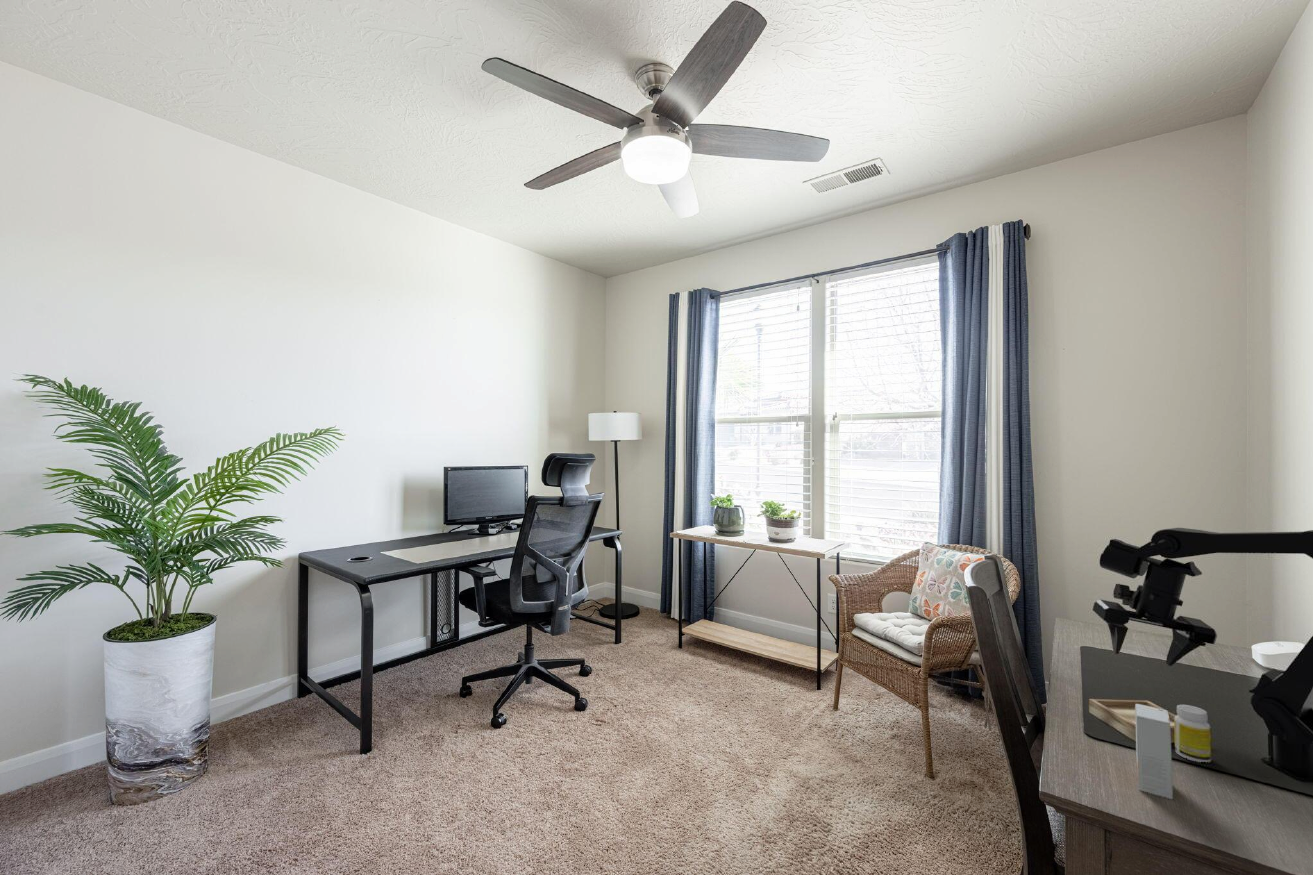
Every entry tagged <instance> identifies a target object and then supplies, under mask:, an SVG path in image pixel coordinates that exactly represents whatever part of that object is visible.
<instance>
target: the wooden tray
mask: <svg viewBox="0 0 1313 875" xmlns="http://www.w3.org/2000/svg"><path fill="white" fill-rule="evenodd" d="M1135 704H1141V705H1146V706H1150V707H1154V708H1159V709H1163V710H1166V709H1165V708H1163V707H1161V706H1159V705H1157V704H1156V703H1153V702H1152V701H1150V700H1138V699H1137V700H1135V699H1104V698H1088V712H1089V713H1090V714H1091V715H1093V716H1095V717H1096V718H1097V719H1099V720H1101V721H1103V722H1104V723H1106V725H1108V726H1110V727H1113V729H1115V730H1117V731H1118V732H1120V733H1121V734H1123V735H1124V736H1126V737H1128V738H1129V739H1131V740H1133V741H1134V742H1136V720H1135ZM1167 711H1168V714H1169V720H1170V731H1171V743H1175V729H1174V718H1175V716H1177V714H1174V713H1173V712H1170V711H1169V710H1167Z"/></svg>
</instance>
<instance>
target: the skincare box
mask: <svg viewBox="0 0 1313 875" xmlns="http://www.w3.org/2000/svg"><path fill="white" fill-rule="evenodd" d="M1163 709H1164V708H1163ZM1163 709H1159V708H1154V707H1150V706H1146V705H1141V704H1135V720H1136V741H1135V753H1136V757H1135V758H1136V773H1137V788H1138V790H1139V791H1140V790H1141V792H1145V793H1147V792H1148V794H1151V795H1155V796H1157V797H1162V798H1165V797H1166V798H1165V799H1168V798H1169V800H1173V796H1174V795H1173V794H1174V793H1173V768H1172V767H1173V766H1172V765H1173V764H1172V742H1171V731H1170V720H1169V714H1168V711H1169V710H1167V709H1165V710H1163Z"/></svg>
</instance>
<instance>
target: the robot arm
mask: <svg viewBox="0 0 1313 875" xmlns="http://www.w3.org/2000/svg"><path fill="white" fill-rule="evenodd" d="M1211 554H1212V555H1213V554H1293V555H1295V554H1299V555H1300V554H1301V555H1303V554H1304V555H1306V556H1308V557H1310V558H1311V559H1313V529H1310V530H1305V531H1268V532H1267V531H1264V532H1262V531H1261V532H1260V531H1258V532H1256V531H1255V532H1254V531H1253V532H1251V531H1250V532H1249V531H1248V532H1247V531H1245V532H1217V531H1215V532H1214V531H1208V530H1202V529H1193V528H1188V527H1186V528H1185V527H1172V528H1165V529H1163V528H1162V529H1159V530H1157V531H1155V533H1154V534H1153V535H1152V536H1151V538H1150V541H1148V542H1147V543H1145V544H1143V545H1141V546H1137V545H1133V544H1131V543H1127V542H1124V541H1123V540H1121V539H1117V538H1114V539H1113V538H1111V539H1110V540H1109V542H1108V544H1107V545H1106V546H1105V548H1104V550H1103V552H1102V553H1101V554H1100V558H1099V567H1100V568H1102V569H1105V570H1107V571H1110V572H1113V573H1116V574H1119V575H1122V576H1125V577H1128V578H1130V579H1136V578H1137V577H1138V576H1139V577H1143V576H1144V575H1145V576H1144V580H1143V583H1142V584H1141V585H1140V584H1139V585H1137V587H1136V590H1131V588H1130V586H1129V585H1126V584H1120V583H1115V586H1114V588H1113V594H1112V596H1113V598H1114V599H1117V600H1122V602H1121V603H1122V604H1120V603H1119V602H1115V601H1109V600H1106V599H1100V598H1099V599H1098V600H1096V601H1095V602H1094V603H1093V606H1092V607H1093V608H1092V611H1093V612H1094V613H1095V614H1096V615H1097V616H1098V617H1099V618H1101V619H1102V620H1103V621H1105V622H1104V623H1107V626H1108V629H1109V633H1110V640H1111V644H1112V650H1113V653H1114V654H1115V655H1119V653H1120V651H1121V650H1122V647H1123V644H1124V642H1125V638H1126V636H1127V633H1128V630H1129V627H1128V626H1127V624H1128V623H1129V621H1132V622H1137V623H1141V624H1146V625H1151V626H1154V627H1155V626H1156V627H1160V628H1165V629H1171V630H1172V640H1171V643H1170V646H1169V650H1168V652H1167V655H1166V660H1165V663H1166V664H1165V665H1167V666H1169V667H1171V666H1173V665H1174V664H1176V663H1177V662H1178V661H1179V660H1181V659H1182V658H1183V657H1185V656H1186V655H1187V654H1189V653H1192V651H1194V650H1196V649H1197V648H1199V647H1206V646H1207V644H1210V645H1215V644H1216V641H1217V638H1218V633H1217V630H1215V629H1214V628H1213V627H1211V626H1210V625H1209V624H1207V623H1206V622H1204V621H1203V620H1201V619H1199V618H1194V617H1190V616H1184V615H1179V616H1177V617H1176V618H1175V615H1176V611H1177V608H1178V607H1182V606H1183V603H1184V601H1183V600H1182V599H1180V598H1181V594H1182V590H1183V587H1184V585H1185V580H1186V577H1187V576H1189V577H1192V578H1193V577H1198V576H1201V575H1203V573H1202V571H1201V570H1200V568H1198V567H1197V566H1196V564H1195V562H1194V561H1187V562H1185V563H1183V562H1181V561H1177V560H1174V559H1182V558H1183V559H1184V558H1188V557H1189V558H1190V557H1196V556H1204V555H1205V556H1206V555H1211ZM1157 556H1161V557H1162V558H1164V559H1162V560H1161V559H1157V558H1154V557H1157ZM1122 605H1123V606H1122ZM1124 606H1129V608H1130V609H1132V610H1128V609H1126V608H1125V607H1124ZM1134 610H1135V611H1134ZM1248 693H1251V694H1253V695H1252V696H1251V698H1250V705H1251V707H1252V708H1253V711H1254V712H1255V713H1256V715H1257V716H1259V717H1260V718H1261V719H1262V720H1263V722H1264V724H1265V726H1266V729H1267V730H1268V733H1267V748H1268V749H1267V750H1268V752H1267V753H1268V754H1267V755H1268V756H1261V757H1260V761H1262V762H1264V763H1266V764H1268V765H1270V766H1271V767H1273V768H1275V769H1277V770H1279V771H1281V772H1283V773H1284V774H1287V775H1288V776H1290V777H1292V778H1294V779H1296V780H1299V781H1306V782H1307V781H1309V782H1310V781H1311V782H1313V707H1312V706H1313V635H1312V636H1311V637H1310V638H1309V640H1308V641H1307V642H1306V644H1304V646H1303V648H1302V649H1300V651H1299V652H1298V654H1297V655H1296V656H1295V657H1294V659H1293V660H1292V661H1291V663H1290V664H1289V665H1288V667H1287V668H1286V669H1285V670H1284V671H1283V672H1280V671H1278V670H1277V669H1275V668H1272V669H1269V670H1268V671H1266V672H1264V673H1262V674H1261V675H1260V678H1259V681H1258V683H1257V685H1256V686H1255V687H1253V688H1252V689H1249V690H1248Z"/></svg>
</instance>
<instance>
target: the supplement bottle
mask: <svg viewBox="0 0 1313 875" xmlns="http://www.w3.org/2000/svg"><path fill="white" fill-rule="evenodd" d="M1208 719H1209V718H1208V712H1207V711H1206V710H1204V709H1203V708H1200V707H1197V706H1194V705H1189V704H1177V705H1176V716H1175V718H1174V729H1175V742H1174V751H1175V753H1176V754H1177V755H1178V756H1180V757H1182V758H1184V759H1186V758H1187V759H1186V760H1189V761H1192V762H1195V761H1196V763H1201V762H1206V763H1207V762H1208V763H1211V761H1212V737H1211V736H1212V735H1211V734H1212V732H1211V730H1212V728H1211V725H1210V724H1209V722H1208ZM1206 763H1205V764H1206Z"/></svg>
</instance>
